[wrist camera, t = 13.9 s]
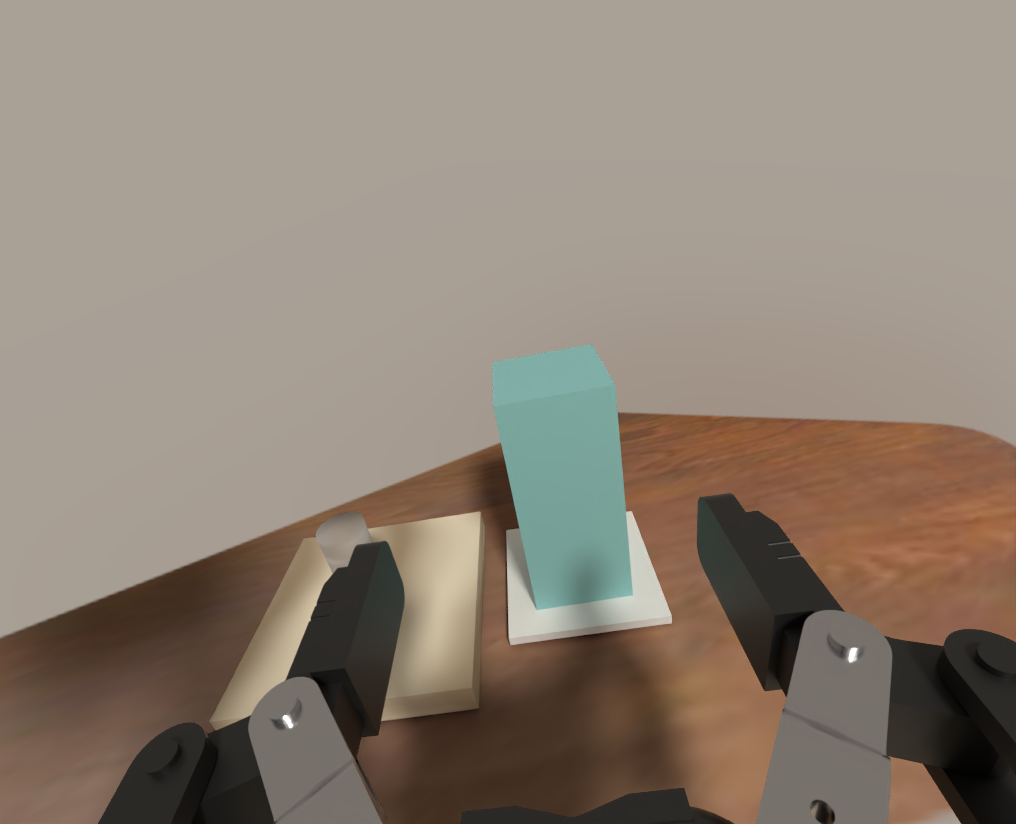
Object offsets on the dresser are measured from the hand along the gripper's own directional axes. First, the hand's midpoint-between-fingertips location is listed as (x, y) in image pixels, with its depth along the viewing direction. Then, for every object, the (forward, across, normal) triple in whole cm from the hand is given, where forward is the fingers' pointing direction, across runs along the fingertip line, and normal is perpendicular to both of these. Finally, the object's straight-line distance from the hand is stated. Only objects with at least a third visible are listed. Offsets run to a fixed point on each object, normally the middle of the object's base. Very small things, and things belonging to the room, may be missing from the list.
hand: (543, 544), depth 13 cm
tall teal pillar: (+11, -1, +12) cm, 16 cm away
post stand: (+10, +10, +13) cm, 19 cm away
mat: (+11, -1, +12) cm, 16 cm away
